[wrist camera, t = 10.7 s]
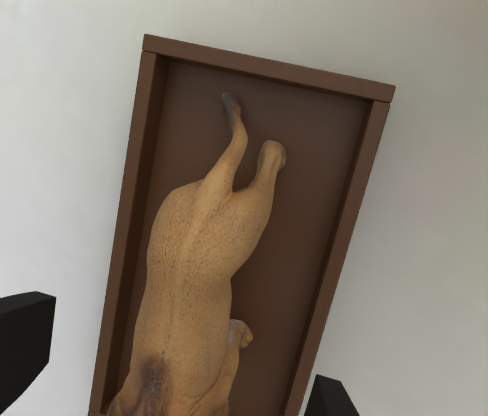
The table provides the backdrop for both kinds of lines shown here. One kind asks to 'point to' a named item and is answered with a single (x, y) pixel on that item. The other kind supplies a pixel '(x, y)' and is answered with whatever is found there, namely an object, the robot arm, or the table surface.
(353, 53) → the table surface
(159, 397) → the lion figurine
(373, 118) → the tray
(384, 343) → the table surface
